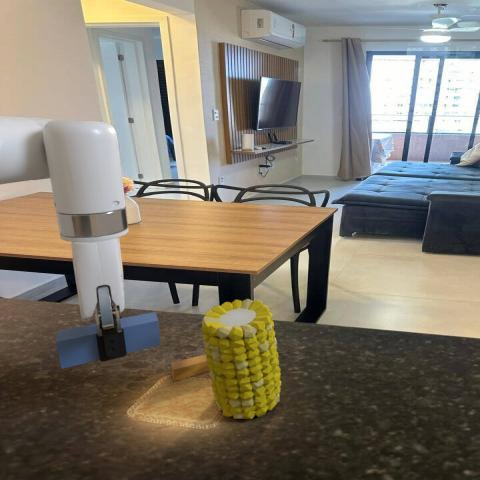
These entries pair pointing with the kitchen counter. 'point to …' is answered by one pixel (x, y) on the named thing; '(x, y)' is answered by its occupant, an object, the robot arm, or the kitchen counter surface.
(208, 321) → the food
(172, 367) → the tan wooden bar
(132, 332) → the blue stick
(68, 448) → the kitchen counter surface
